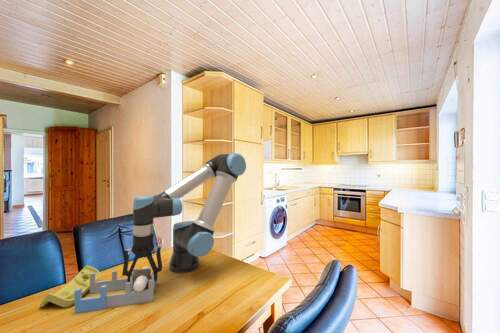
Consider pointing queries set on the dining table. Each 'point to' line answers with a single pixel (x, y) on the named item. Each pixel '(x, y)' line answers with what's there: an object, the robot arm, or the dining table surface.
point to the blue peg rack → (112, 299)
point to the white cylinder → (142, 278)
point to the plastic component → (72, 288)
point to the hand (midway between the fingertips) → (142, 289)
